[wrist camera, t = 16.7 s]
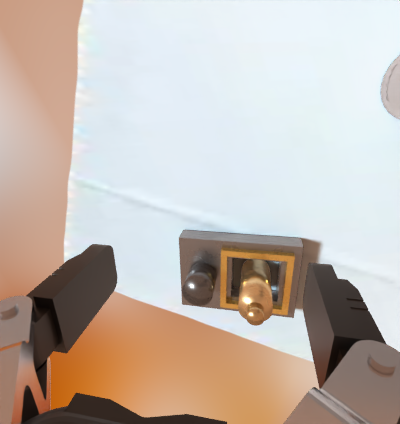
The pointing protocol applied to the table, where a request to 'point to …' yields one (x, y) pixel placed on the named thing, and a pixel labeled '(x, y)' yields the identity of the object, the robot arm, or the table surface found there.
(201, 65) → the table surface
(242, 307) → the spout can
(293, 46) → the table surface
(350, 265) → the table surface
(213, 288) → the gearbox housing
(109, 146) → the table surface
